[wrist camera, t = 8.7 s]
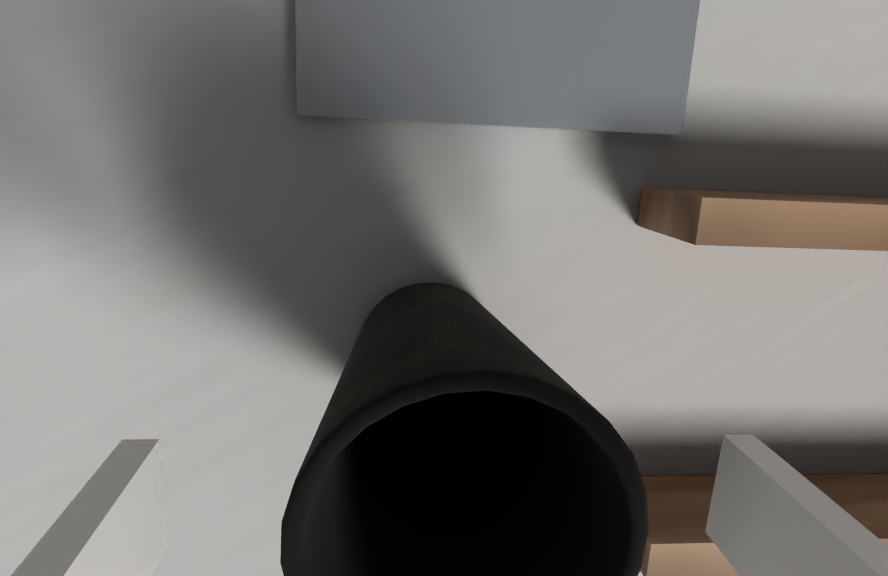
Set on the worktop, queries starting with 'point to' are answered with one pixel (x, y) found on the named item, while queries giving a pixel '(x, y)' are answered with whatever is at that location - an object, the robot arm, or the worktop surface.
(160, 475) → the robot arm
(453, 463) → the cup
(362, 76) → the coaster
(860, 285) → the worktop surface
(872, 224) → the wooden frame
